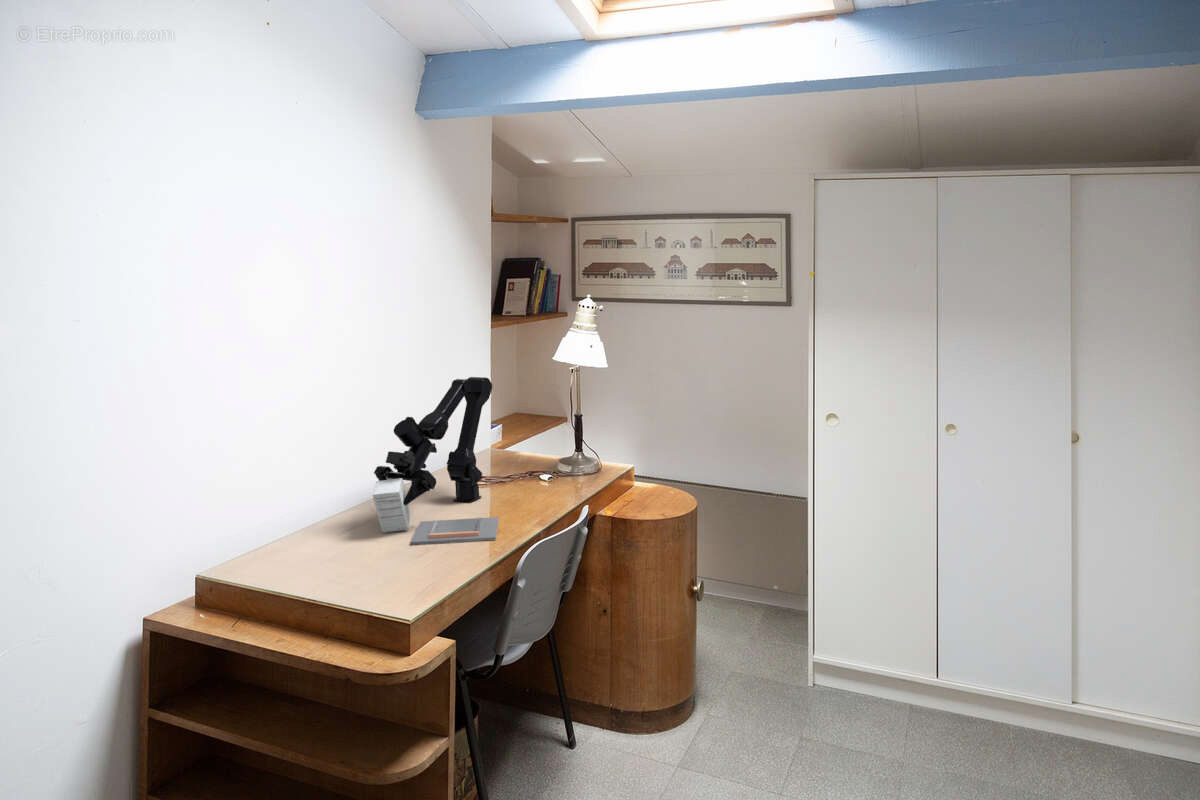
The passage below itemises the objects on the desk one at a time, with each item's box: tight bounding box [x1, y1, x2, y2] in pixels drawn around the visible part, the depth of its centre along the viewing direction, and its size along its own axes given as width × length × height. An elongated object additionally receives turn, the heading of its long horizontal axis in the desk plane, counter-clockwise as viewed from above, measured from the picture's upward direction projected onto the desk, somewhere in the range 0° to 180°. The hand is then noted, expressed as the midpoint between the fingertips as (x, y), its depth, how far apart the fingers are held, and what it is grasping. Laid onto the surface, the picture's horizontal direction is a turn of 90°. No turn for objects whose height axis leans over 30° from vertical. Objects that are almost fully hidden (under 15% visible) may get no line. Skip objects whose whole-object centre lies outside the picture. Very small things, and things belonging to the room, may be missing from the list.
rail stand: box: [410, 516, 500, 546], centre depth 216 cm, size 18×22×2 cm
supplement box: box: [372, 478, 412, 533], centre depth 218 cm, size 7×7×13 cm
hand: (391, 502), depth 218 cm, fingers closed on supplement box, 9 cm apart
